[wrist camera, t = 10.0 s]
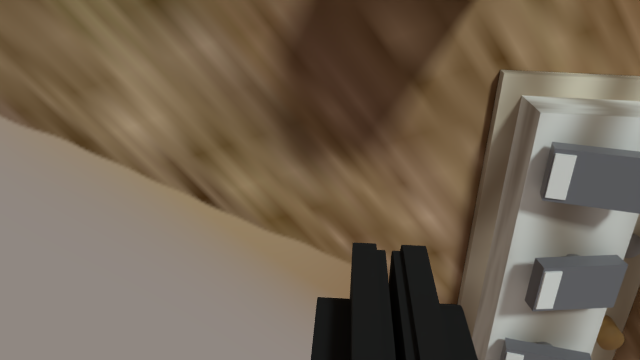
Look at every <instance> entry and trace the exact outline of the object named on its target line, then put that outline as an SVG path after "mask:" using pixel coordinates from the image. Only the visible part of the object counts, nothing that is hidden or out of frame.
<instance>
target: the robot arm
mask: <svg viewBox="0 0 640 360" xmlns="http://www.w3.org/2000/svg"><path fill="white" fill-rule="evenodd" d="M351 268H352V269H351V287H350V299H342V298H321V297H318V299H317V306H316V316H315V325H314V336H313V344H312V354H311V360H478V358H477V355H476V351H475V348H474V345H473V341H472V338H471V334H470V331H469V328H468V324H467V321H466V317H465V314H464V311H463V308H462V306H461V305H455V304H439V300H438V296H437V292H436V287H435V283H434V279H433V274H432V270H431V266H430V261H429V257H428V253H427V249H426V246H413V245H401V249H400V251H392V255H391V265H390V276H389V283H388V273H387V263H386V253H385V250H377V247H376V244H371V243H353V248H352V267H351Z"/></svg>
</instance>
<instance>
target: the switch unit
mask: <svg viewBox="0 0 640 360" xmlns="http://www.w3.org/2000/svg"><path fill="white" fill-rule="evenodd" d="M552 142H559V143H568V144H577V145H586V146H595V147H604V148H612V149H621V150H630V151H639V152H640V76H622V75H601V74H579V73H558V72H537V71H515V70H500V75H499V81H498V86H497V92H496V97H495V102H494V108H493V113H492V119H491V124H490V130H489V135H488V141H487V146H486V151H485V157H484V162H483V168H482V173H481V179H480V184H479V189H478V195H477V200H476V206H475V211H474V217H473V222H472V228H471V233H470V238H469V244H468V249H467V255H466V260H465V266H464V271H463V277H462V282H461V287H460V293H459V298H458V304H457V305H461V306H462V308H463V311H464V314H465V317H466V321H467V324H468V328H469V331H470V334H471V338H472V341H473V345H474V348H475V351H476V355H477V358H478V360H500V357H501V352H502V348H503V344H504V340H505V338H509V339H515V340H520V341H526V342H531V343H538V342H547V343H550V344H551V345H553V346H554V347H559V348H564V349H569V350H575V351H580V352H586V353H590V356H591V359H592V360H613V357H614V354H615V351H616V349H617V348H619V347H620V346H621V345H622V344H623V343H624V336H623V334H622V332H623V330H624V327H625V324H626V321H627V319H628V316H629V313H630V310H631V308H632V305H633V302H634V299H635V297H636V294H637V291H638V289H639V286H640V214H638V213H630V212H623V211H616V210H608V209H601V208H594V207H586V206H579V205H572V204H564V203H557V202H550V201H543V200H542V198H541V195H540V189H541V185H542V181H543V177H544V173H545V169H546V165H547V160H548V156H549V152H550V148H551V144H552ZM568 254H577V255H580V256H596V255H618V256H619V257H620V258H621V259H622V260H624V261H625V262H626V263H627V264H628V267H627V270H626V273H625V276H624V278H623V281H622V284H621V287H620V290H619V293H618V296H617V299H616V302H615V304H614V307H612V308H592V309H572V310H552V311H532V310H531V308H530V307H529V306H528V304H527V303H526V302H525V297H526V293H527V289H528V285H529V281H530V277H531V273H532V269H533V265H534V261H535V258H543V257H566V255H568Z"/></svg>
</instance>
